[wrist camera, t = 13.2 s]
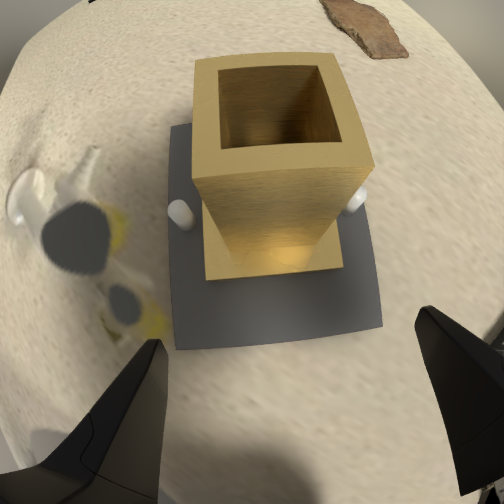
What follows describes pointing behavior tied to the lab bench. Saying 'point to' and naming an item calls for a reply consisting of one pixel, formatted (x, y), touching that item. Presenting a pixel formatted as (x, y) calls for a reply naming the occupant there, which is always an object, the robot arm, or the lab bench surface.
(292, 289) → the base plate
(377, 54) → the pottery shard
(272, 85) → the brass sleeve
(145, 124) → the lab bench surface
